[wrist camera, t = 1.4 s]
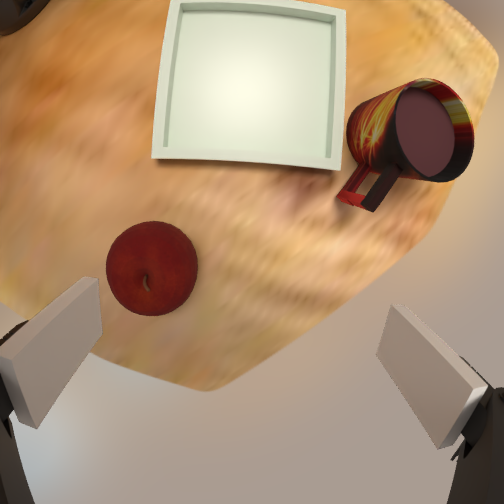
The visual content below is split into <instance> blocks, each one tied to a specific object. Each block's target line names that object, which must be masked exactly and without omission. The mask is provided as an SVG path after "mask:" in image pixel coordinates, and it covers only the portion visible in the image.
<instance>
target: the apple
mask: <svg viewBox="0 0 504 504" xmlns="http://www.w3.org/2000/svg"><path fill="white" fill-rule="evenodd" d="M197 270H198V265H197V256H196V252H195V249H194V247H193V245H192V243H191V241H190V240H189V239H188V237H187V236H186V235H185V234H184V233H183V232H182V231H181V230H180V229H178V228H176V227H175V226H173V225H171V224H168V223H164V222H158V221H150V222H143V223H140V224H137V225H134V226H132V227H130V228H129V229H127V230H125V231H124V232H123V233H122V234H121V235H120V236H118V237H117V238H116V240H115V241H114V243H113V244H112V246H111V248H110V250H109V253H108V256H107V261H106V275H107V280H108V283H109V285H110V288H111V291H112V293H113V294H114V296H115V298H116V299H117V300H118V301H119V303H120V304H121V305H123V306H124V307H125V308H126V309H128V310H130V311H131V312H134V313H136V314H139V315H145V316H160V315H165V314H167V313H170V312H172V311H174V310H175V309H177V308H178V307H179V306H181V305H182V304H183V303H184V302H185V301H186V300H187V299H188V297H189V295H190V294H191V292H192V290H193V288H194V285H195V282H196V278H197Z"/></svg>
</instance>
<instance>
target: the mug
mask: <svg viewBox="0 0 504 504" xmlns="http://www.w3.org/2000/svg"><path fill="white" fill-rule="evenodd" d="M346 136H347V143H348V146H349V149H350V151H351V153H352V155H353V157H354V158H355V160H356V161H357V162H358V163H359V164H360V165H359V166H358V168H357V169H356V170H355V172H354V173H353V175H352V176H351V177H350V179H349V180H348V182H347V183H346V185H345V186H344V187H343V189H342V190H341V191H340V192H339V194H338V195H337V196H336V197H337V198H338V199H340V200H341V201H342V202H344V203H347V204H349V205H352V206H354V205H355V206H357V207H360V208H363V209H365V210H368V211H371V212H374V211H375V210H376V209H377V207H378V206H379V205H380V203H381V202H382V201H383V199H384V198H385V196H386V195H387V193H388V192H389V190H390V189H391V187H392V186H393V184H394V183H395V181H396V180H397V178H398V177H400V178H409V179H416V180H424V181H431V182H448V181H451V180H454V179H455V178H457V177H459V176H460V175H461V174H462V173H463V172H464V171H465V169H466V168H467V166H468V164H469V162H470V160H471V157H472V153H473V149H474V129H473V124H472V120H471V117H470V115H469V112H468V110H467V108H466V106H465V104H464V103H463V101H462V100H461V98H460V97H459V96H458V95H457V93H456V92H455V91H453V90H452V89H451V88H450V87H449V86H447V85H446V84H444V83H443V82H440V81H438V80H435V79H430V78H421V79H417V80H414V81H412V82H409V83H407V84H404V85H402V86H400V87H397V88H395V89H392V90H390V91H388V92H386V93H383V94H381V95H379V96H376V97H374V98H372V99H370V100H367V101H365V102H363V103H361V104H360V105H359V106H357V107H356V108H355V109H354V111H353V112H352V113H351V115H350V117H349V120H348V123H347V130H346ZM369 172H371V173H374V174H377V175H380V176H379V178H378V179H377V181H376V182H375V184H374V185H373V187H372V188H371V189H370V191H369V192H368V194H367V195H366V196H364V195H360V194H357V193H355V191H356V190H357V189H358V187H359V186H360V184H361V183H362V181H363V180H364V179H365V177H366V176H367V174H368V173H369Z"/></svg>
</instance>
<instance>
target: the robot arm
mask: <svg viewBox="0 0 504 504" xmlns="http://www.w3.org/2000/svg"><path fill="white" fill-rule="evenodd" d="M48 1H49V0H0V35H7V34H10V33H13V32H15V31H17V30H18V29H20V28H22V27H23V26H24V25H26V24H27V23H28V22H29V21H31V20H32V19H33V18H34V17H35V16H36V15H37V14H38V13H39V12H40V11H41V10H42V9H43V8H44V6H45V5H46V4H47V3H48ZM102 334H103V330H102V320H101V309H100V297H99V281H98V278H91V277H82V278H81V279H80V280H78V281H77V282H76V283H75V284H73V285H72V286H71V287H70V288H68V289H67V290H66V291H65V292H63V293H62V294H61V295H60V296H58V297H57V298H56V299H55V300H53V301H52V302H51V303H50V304H49V305H47V306H46V307H45V308H44V309H43V310H41V311H40V312H39V313H38V314H37V315H35V316H34V317H33V318H32V319H31V320H30V321H28V320H27V321H25V322H23V323H20V324H18V325H16V326H15V327H14V328H13V329H12V330H11V331H9V333H7V334H6V335H5V336H4V337H3V339H0V504H35V503H34V501H33V497H32V495H31V492H30V489H29V486H28V483H27V480H26V477H25V474H24V470H23V467H22V463H21V460H20V456H19V452H18V448H17V444H16V440H15V436H14V431H13V426H12V423H11V420H10V418H9V415H10V414H11V412H12V411H13V410H14V411H15V413H16V416H17V418H18V420H19V422H21V423H23V424H25V425H28V426H30V427H32V428H35V429H38V427H39V426H40V424H41V422H42V421H43V419H44V418H45V416H46V415H47V413H48V412H49V410H50V409H51V407H52V405H53V404H54V402H55V401H56V399H57V398H58V396H59V395H60V393H61V392H62V390H63V389H64V388H65V386H66V384H67V383H68V382H69V380H70V379H71V377H72V376H73V374H74V373H75V372H76V370H77V369H78V367H79V366H80V364H81V363H82V362H83V360H84V359H85V357H86V356H87V355H88V353H89V352H90V350H91V349H92V348H93V346H94V345H95V344H96V342H97V341H98V339H99V338H100V337H101V335H102ZM376 356H377V357H378V359H379V360H380V362H381V363H382V365H383V366H384V368H385V369H386V370H387V372H388V373H389V375H390V377H391V378H392V379H393V381H394V382H395V384H396V386H397V387H398V389H399V390H400V391H401V393H402V395H403V396H404V398H405V399H406V401H407V402H408V404H409V405H410V407H411V408H412V410H413V411H414V413H415V415H416V416H417V418H418V419H419V421H420V422H421V424H422V425H423V427H424V428H425V430H426V432H427V433H428V435H429V437H430V438H431V440H432V441H433V443H434V445H435V446H436V448H437V449H441V448H445V447H448V446H451V445H453V444H454V443H455V441H456V440H457V438H458V436H459V435H460V434H462V435H463V436H464V437H465V439H464V441H463V442H462V444H461V445H460V446H459V448H458V450H457V451H456V452H455V454H454V455H453V456H452V458H451V460H452V461H453V460H454V459H455V457H456V456H458V455H459V456H458V460H457V465H456V470H455V474H454V479H453V483H452V487H451V490H450V494H449V498H448V501H447V504H504V388H502V387H501V388H496V389H494V388H493V387H492V386H491V385H490V384H489V383H488V382H486V380H485V379H484V378H483V377H482V376H481V375H480V374H479V373H478V372H476V370H475V369H474V368H473V367H470V364H469V363H468V362H467V361H466V360H465V359H464V358H462V357H460V356H459V355H457V354H456V353H455V352H454V351H453V350H452V349H451V348H450V347H449V346H448V345H447V344H446V343H445V342H444V341H443V340H442V339H441V338H440V337H438V335H437V334H435V333H434V332H433V331H432V330H431V329H430V328H429V327H428V326H427V325H426V324H425V323H424V322H423V321H422V320H420V319H419V318H418V317H417V316H416V315H415V314H414V313H413V312H412V311H410V309H408V308H407V307H406V306H405V305H395V304H391V307H390V310H389V314H388V317H387V321H386V324H385V327H384V331H383V334H382V337H381V340H380V343H379V347H378V350H377V353H376Z"/></svg>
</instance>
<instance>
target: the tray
mask: <svg viewBox="0 0 504 504" xmlns="http://www.w3.org/2000/svg"><path fill="white" fill-rule="evenodd" d="M345 85H346V10H343V9H338V8H334V7H329V6H324V5H319V4H313V3H307V2H301V1H294V0H171V2H170V7H169V12H168V17H167V23H166V29H165V35H164V41H163V47H162V54H161V61H160V69H159V77H158V85H157V94H156V104H155V114H154V126H153V140H152V156H151V158H154V159H195V160H220V161H239V162H254V163H267V164H279V165H290V166H300V167H310V168H319V169H327V170H338V171H340V170H341V158H342V144H343V129H344V110H345Z"/></svg>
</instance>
